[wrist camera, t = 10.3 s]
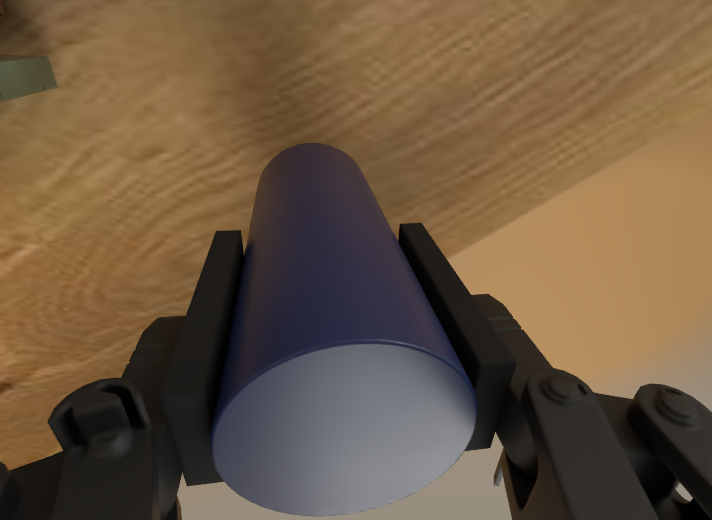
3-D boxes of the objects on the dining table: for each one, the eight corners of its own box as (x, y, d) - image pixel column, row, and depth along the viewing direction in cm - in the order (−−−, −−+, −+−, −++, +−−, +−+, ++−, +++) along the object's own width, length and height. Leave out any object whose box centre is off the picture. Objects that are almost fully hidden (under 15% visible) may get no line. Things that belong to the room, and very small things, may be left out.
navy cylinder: (369, 141, 18) (504, 328, 7) (365, 243, 20) (457, 499, 9) (251, 143, 17) (183, 355, 6) (262, 248, 20) (229, 532, 9)
